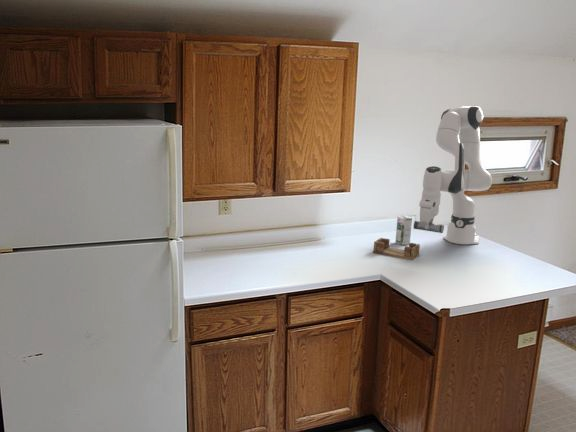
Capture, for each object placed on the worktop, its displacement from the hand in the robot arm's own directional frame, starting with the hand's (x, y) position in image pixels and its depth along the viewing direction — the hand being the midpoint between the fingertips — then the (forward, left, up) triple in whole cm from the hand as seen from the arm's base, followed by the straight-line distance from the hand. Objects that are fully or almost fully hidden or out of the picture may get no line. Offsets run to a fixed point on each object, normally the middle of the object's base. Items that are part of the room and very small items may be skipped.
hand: (428, 227), depth 286 cm
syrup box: (-11, -16, -14) cm, 24 cm away
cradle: (+9, -13, -14) cm, 21 cm away
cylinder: (0, 0, -2) cm, 2 cm away
